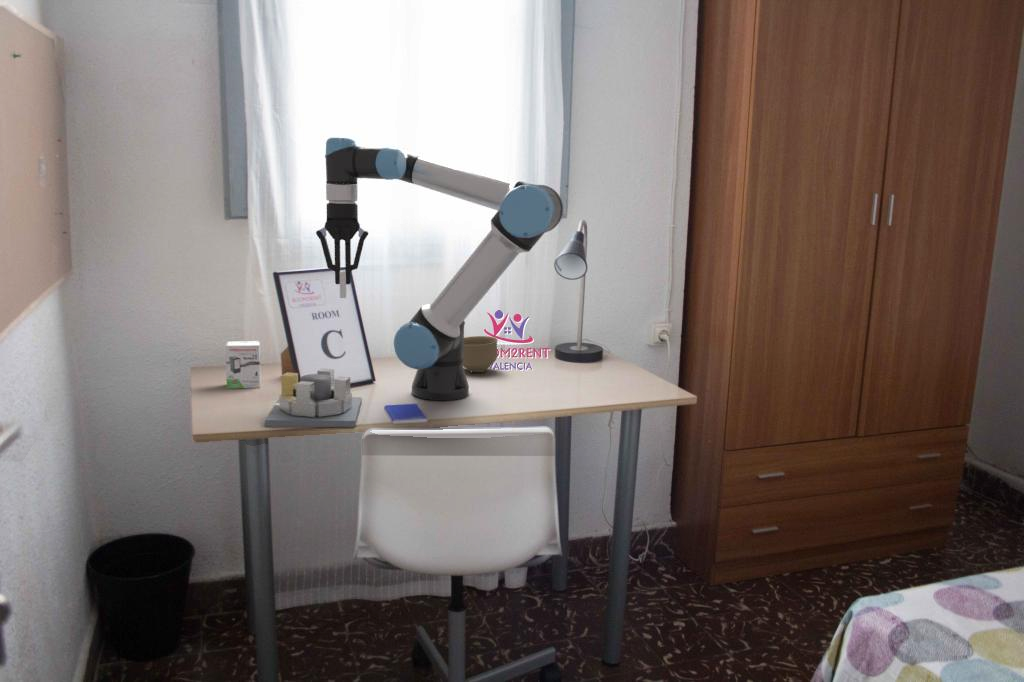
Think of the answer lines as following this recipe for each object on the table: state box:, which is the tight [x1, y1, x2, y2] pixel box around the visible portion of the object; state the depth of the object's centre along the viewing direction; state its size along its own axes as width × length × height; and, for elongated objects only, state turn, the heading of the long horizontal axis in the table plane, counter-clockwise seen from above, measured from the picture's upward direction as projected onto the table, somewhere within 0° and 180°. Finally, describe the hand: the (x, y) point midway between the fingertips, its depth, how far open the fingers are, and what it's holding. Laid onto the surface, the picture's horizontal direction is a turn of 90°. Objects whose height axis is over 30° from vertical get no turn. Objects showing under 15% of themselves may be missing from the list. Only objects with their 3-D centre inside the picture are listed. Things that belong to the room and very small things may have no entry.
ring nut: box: [279, 367, 353, 417], centre depth 195 cm, size 16×16×8 cm
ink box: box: [225, 340, 261, 390], centre depth 216 cm, size 9×5×12 cm, turn 107°
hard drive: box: [383, 403, 428, 425], centre depth 198 cm, size 2×8×12 cm
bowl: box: [463, 335, 498, 373], centre depth 243 cm, size 13×13×10 cm
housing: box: [264, 373, 363, 428], centre depth 195 cm, size 20×20×9 cm
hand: (343, 297), depth 206 cm, fingers closed
